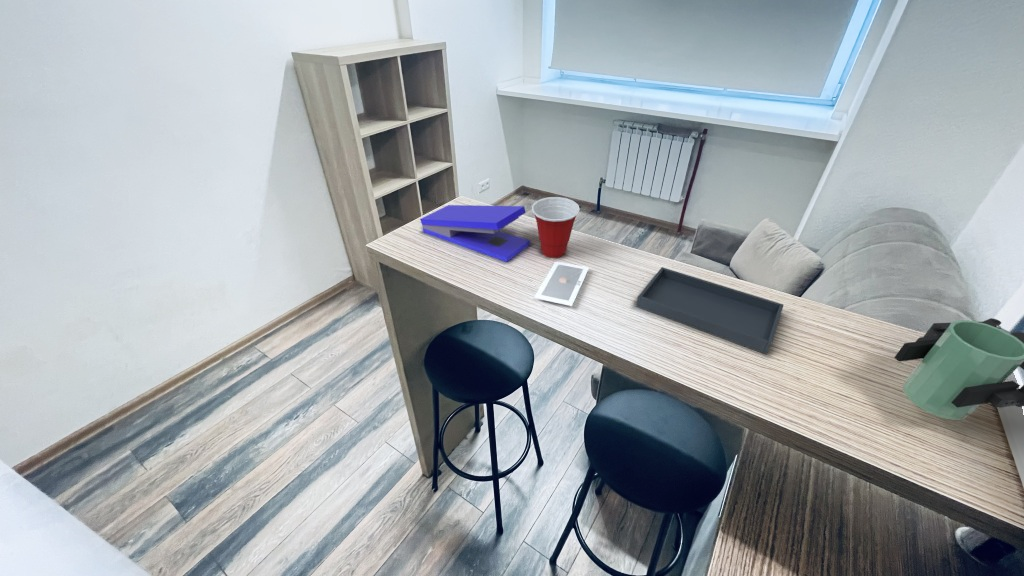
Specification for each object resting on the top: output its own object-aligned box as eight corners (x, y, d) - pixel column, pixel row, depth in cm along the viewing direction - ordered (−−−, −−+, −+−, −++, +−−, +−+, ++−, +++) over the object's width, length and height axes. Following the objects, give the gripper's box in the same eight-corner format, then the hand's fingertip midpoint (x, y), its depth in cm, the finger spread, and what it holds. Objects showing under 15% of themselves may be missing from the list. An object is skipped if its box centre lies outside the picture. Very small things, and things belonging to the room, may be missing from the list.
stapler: (505, 263, 95) (503, 224, 89) (420, 232, 108) (414, 197, 103) (531, 243, 102) (532, 206, 97) (449, 217, 116) (445, 183, 110)
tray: (779, 314, 78) (783, 304, 76) (766, 354, 69) (771, 343, 68) (659, 276, 89) (661, 266, 88) (636, 306, 80) (638, 296, 79)
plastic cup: (528, 262, 95) (528, 215, 88) (533, 240, 104) (534, 195, 97) (575, 265, 93) (579, 218, 86) (576, 243, 102) (580, 198, 95)
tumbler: (982, 412, 53) (1045, 352, 46) (942, 425, 52) (1001, 364, 45) (926, 374, 58) (976, 315, 52) (889, 385, 57) (935, 326, 50)
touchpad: (533, 302, 82) (533, 293, 81) (555, 265, 94) (555, 257, 92) (571, 310, 80) (572, 301, 79) (588, 271, 91) (589, 263, 90)
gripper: (1166, 435, 48) (997, 463, 45) (983, 325, 64) (851, 342, 61) (1231, 392, 43) (1047, 420, 41) (1016, 286, 59) (876, 302, 57)
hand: (930, 373), depth 51 cm, fingers closed on tumbler, 7 cm apart
